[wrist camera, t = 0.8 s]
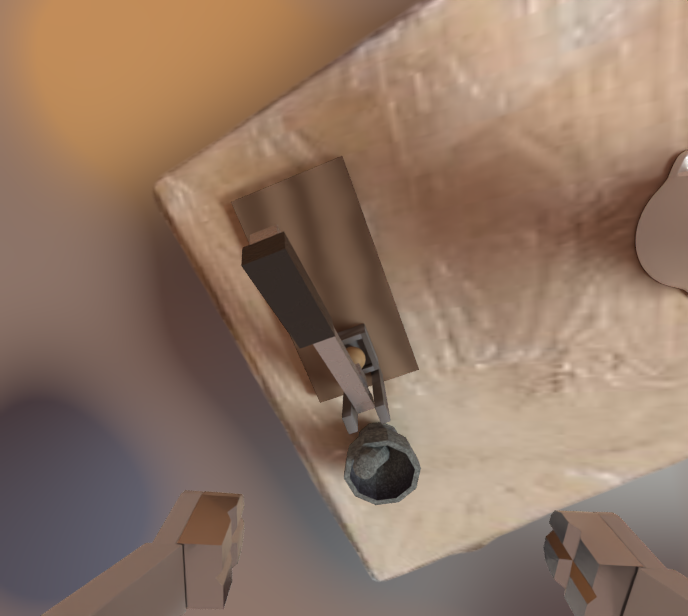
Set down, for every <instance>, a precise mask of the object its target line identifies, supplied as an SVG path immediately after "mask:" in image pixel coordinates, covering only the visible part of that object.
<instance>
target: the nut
mask: <svg viewBox="0 0 688 616" xmlns="http://www.w3.org/2000/svg"><path fill="white" fill-rule="evenodd" d="M346 350H347V351H348V353H349V355H350V357H351V359H352V360H353V362H354V364H357V363H359V364H360V366H361V368H362V367H363V366H364V364H365V355H364V353H363V351H362V350H361V349H360V348H358V347H348V348H346Z"/></svg>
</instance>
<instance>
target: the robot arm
mask: <svg viewBox="0 0 688 616" xmlns="http://www.w3.org/2000/svg"><path fill="white" fill-rule="evenodd" d="M636 251H637V255H638V258H639V261H640V263H641V265H642V267H643V268H644V270H645V271H646V272H647V273H648V274H649V275H650V276H651V277H652V278H653V279H655V280H656V281H658V282H660V283H662V284H665V285H667V286H671V287H676V288H680V289H683V290H685V291H686V292H687V293H688V150H687V151H684V152H682V153H681V154H680V155H679V156H678V158H677V159H676V161H675V163H674V165H673V167H672V169H671V172H670V174H669V177H668V179H667V180H666V182H665V183H664V184H663V185H662V186H661V187H660V189H659V190H658V191H657V192H656V193H655V194H654V195H653V197H652V198H651V199H650V201H649V202H648V204H647V205H646V207H645V209H644V211H643V213H642V215H641V217H640V220H639V223H638V227H637V232H636ZM243 509H244V496H243V495H242V494H233V493H221V492H206V491H205V492H202V491H190V490H185V491H184V492H183V493H182V494H181V495H180V496H179V498H178V500H177V502H176V503H175V505H174V507H173V508H172V510H171V512H170V513H169V515H168V517H167V518H166V520H165V522H164V524H163V525H162V527H161V529H160V530H159V532H158V534H157V536H156V537H155V539H154V541H153V543H145V544H144V545H142V546H141V547H139V548H138V549H137V550H135V551H133V552H132V553H131V554H129V555H128V556H126V557H125V558H124V559H122V560H120V561H119V562H118V563H116V564H115V565H113V566H112V567H110V568H109V569H108V570H106V571H105V572H103V573H102V574H100V575H99V576H97V577H96V578H94V579H93V580H92V581H90V582H89V583H87V584H86V585H84V586H83V587H81V588H80V589H78V590H77V591H76V592H74V593H73V594H71V595H70V596H68V597H67V598H65V599H64V600H63V601H61V602H60V603H58V604H57V605H55V606H54V607H52V608H51V609H50V610H48V611H47V612H45V613H44V614H42V615H41V616H182V615H183V614H184V613H185V612H186V609H224V606H225V603H226V600H227V596H228V593H229V590H230V586H231V583H232V568H233V567H234V566H235V565H237V564H238V560H239V557H240V553H241V548H242V543H243V537H244V520H243V519H242V518H241V515H242V512H243ZM549 524H550V525H551V527H552V529H553V530H552V531H551V532H550V533H549V534H548V535H547V536H546V537H545V542H544V547H543V548H544V555H545V561H546V564H547V566H548V569H549V571H550V573H551V575H552V576H553V578H554V580H556V581H557V582H558V583H559V584H560V585H562V586H563V587H564V588H565V595H564V598H565V599H566V601H567V603H568V605H569V606H570V608H571V610H572V612H573V613H574V615H575V616H688V578H687V577H685V576H683V575H682V574H680V573H679V572H677V571H675V570H674V569H667V568H666V567H665V566H664V565H663V564H662V563H661V562H660V561H659V560H658V559H657V557H656V556H655V555H654V554H653V553H652V552H651V551H650V550H649V549H648V547H647V546H646V545H645V544H644V543H643V542H642V541H641V540H640V539H639V538H638V537H637V535H635V533H634V532H633V531H632V530H631V529H630V528H629V527H628V525H626V523H625V522H624V521H623V520H622V519H621V518H620V517H619V516H618V515H616V514H614V513H612V512H577V511H556V510H555V511H554V512H553V513H552V514H551V517H550V521H549Z"/></svg>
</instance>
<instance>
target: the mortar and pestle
mask: <svg viewBox="0 0 688 616" xmlns="http://www.w3.org/2000/svg"><path fill="white" fill-rule="evenodd" d="M420 469H421V468H420V464H419V461H418V459H417V457H416V455H415V453H414V451H413V449H412V448H411V446H410V444H409V442H408V441H407V439H406V437H404V436H402V435H400V434H398V433H397V431H396V430H395V428H394V427H392V426H390V425H388V424H386V423H383V424H381V422H378V423H371V424H368V425H367V426H366V427H365V428H364V429H362V430H361V431H360V432H359V437H358V438H357V439H356V440H355V441H354V442H353V443H351V444H350V445H349V448H348V452H347V458H346V464H345V471H344V479H345V481H346V482H347V484H348V486H349V487H350V489H351V490H352V492H353V494H354V495H355V496H356V497H358V498H361V499H363V500H365V501H368V502H370V503H372V504H375V505H380V504H388V503H396V502H400V501H401V500H402V499H404V498H405V497H406V496H407V495H408V494H410V493H411V492H412V491H413V490H415V489H416V487H417V482H418V478H419V474H420Z"/></svg>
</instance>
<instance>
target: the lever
mask: <svg viewBox="0 0 688 616" xmlns="http://www.w3.org/2000/svg"><path fill="white" fill-rule="evenodd" d="M241 266H242V267H243V269H244V270H245V272H246V273H247V274H248V276H249V277H250V279H251V280H252V282H253V283H254V284H255V286H256V287H257V289H258V290H259V291H260V293H261V294H262V296H263V297H264V299H265V300H266V301H267V303H268V304H269V306H270V307H271V308H272V310H273V311H274V313H275V314H276V316H277V317H278V318H279V320H280V321H281V323H282V324H283V325H284V327H285V328H286V330H287V331H288V333H289V334H290V335H291V337H292V338H293V340H294V341H295V342H296V344H297V345H298V347H299V348H300V349H301V348H304V347H306V346H309V345H312V344H313V345H314V347H315V348H316V350H317V351H318V353H319V354H320V356H321V357H322V359H323V360H324V362H325V363H326V365H327V367H328V368H329V370H330V371H331V373H332V374H333V376H334V377H335V379H336V380H337V382H338V383H339V385H340V386H341V388H342V389H343V391H344V392H345V394H346V396H347V397H348V399H349V400H350V402H351V403H352V405H353V406H354V408H355V409H356V411H357V412H358V413H361V412H364V411H367V410H370V409H373V408H375V404H374V400H373V396H372V395H371V393H370V391H369V389H368V384H367V380H366V376H365V374H364V372H363V370H362V368H361V366H360V364H359V363H357V364H354V362H353V360H352V359H351V357H350V355H349V353H348V351H347V350H346V348H345V346H344V344H343V342H342V341H341V339H340V337H339V335H338V333H337V332H336V330H335V328H334V326H333V322H332V318H331V316H330V314H329V312H328V310H327V308H326V307H325V305H324V303H323V301H322V299H321V298H320V296H319V294H318V292H317V290H316V288H315V287H314V285H313V283H312V281H311V279H310V278H309V276H308V274H307V272H306V270H305V268H304V267H303V265H302V263H301V261H300V259H299V257H298V256H297V254H296V252H295V250H294V248H293V247H292V245H291V243H290V241H289V239H288V237H287V236H286V234H285V232H284V231H283V232H281V231H280V229H279V228H278V226H277V224H276V225H273V226H271V227H268V228H266V229H263V230H261V231H258V232H256V233H253V234H251V235H250V244H249V245H248V246H246V247H243V250H242V264H241Z"/></svg>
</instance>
